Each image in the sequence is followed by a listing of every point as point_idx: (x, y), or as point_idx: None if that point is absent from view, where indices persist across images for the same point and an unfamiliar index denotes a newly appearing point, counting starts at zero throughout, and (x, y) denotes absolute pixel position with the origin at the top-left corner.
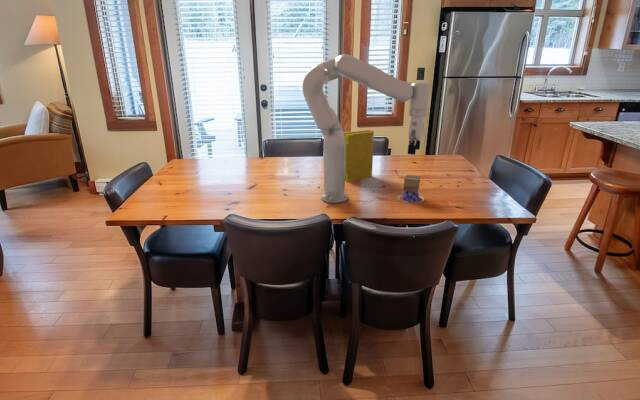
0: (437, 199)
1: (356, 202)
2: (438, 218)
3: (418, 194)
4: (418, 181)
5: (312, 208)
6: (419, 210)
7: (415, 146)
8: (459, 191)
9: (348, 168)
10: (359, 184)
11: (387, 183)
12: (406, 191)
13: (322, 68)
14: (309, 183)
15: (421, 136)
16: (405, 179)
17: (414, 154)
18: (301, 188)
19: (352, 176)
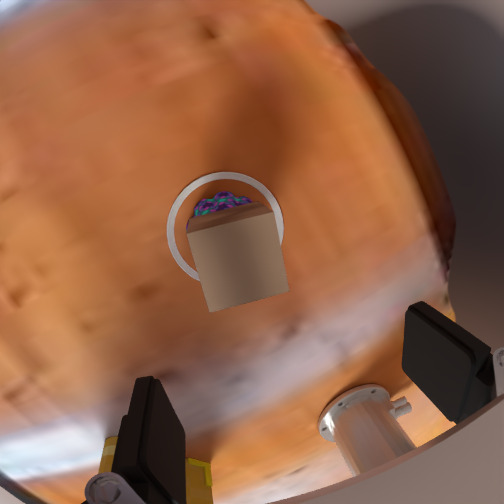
0: (163, 128)
1: (359, 359)
2: (354, 71)
3: (208, 206)
4: (238, 216)
5: (423, 395)
6: (327, 149)
7: (483, 345)
8: (26, 101)
9: (203, 496)
10: (204, 435)
11: (124, 380)
12: None
13: None
14: (281, 491)
15: (455, 489)
16: (286, 282)
17: (418, 303)
18: (321, 480)
19: (187, 469)
